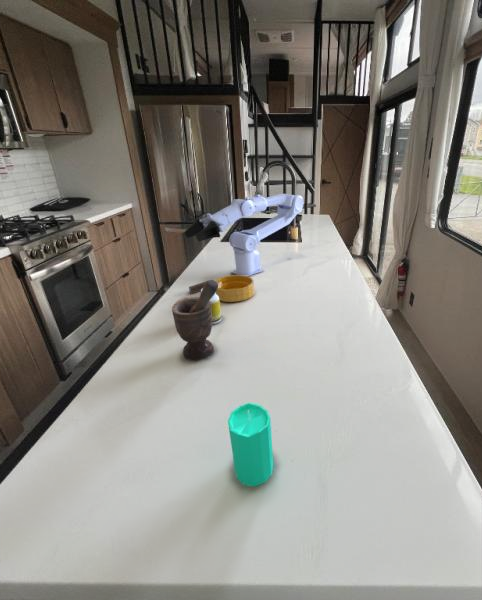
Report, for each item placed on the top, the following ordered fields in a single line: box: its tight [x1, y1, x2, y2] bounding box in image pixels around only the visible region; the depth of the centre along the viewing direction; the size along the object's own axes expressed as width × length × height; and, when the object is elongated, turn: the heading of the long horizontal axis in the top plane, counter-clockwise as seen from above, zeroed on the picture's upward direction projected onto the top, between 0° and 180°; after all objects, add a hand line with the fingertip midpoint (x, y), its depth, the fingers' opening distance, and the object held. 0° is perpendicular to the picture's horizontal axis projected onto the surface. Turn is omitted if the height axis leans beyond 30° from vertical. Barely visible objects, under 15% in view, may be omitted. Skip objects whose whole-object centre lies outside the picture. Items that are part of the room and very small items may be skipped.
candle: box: [227, 402, 274, 487], centre depth 48 cm, size 6×6×12 cm
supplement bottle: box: [200, 288, 223, 325], centre depth 92 cm, size 5×5×10 cm
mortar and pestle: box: [171, 279, 218, 362], centre depth 75 cm, size 12×9×20 cm
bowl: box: [215, 274, 255, 303], centre depth 108 cm, size 13×13×4 cm
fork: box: [188, 280, 208, 295], centre depth 116 cm, size 16×2×2 cm, turn 134°
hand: (191, 236), depth 107 cm, fingers open, 7 cm apart
